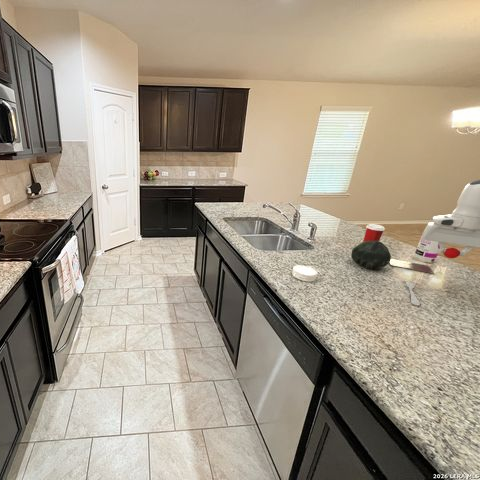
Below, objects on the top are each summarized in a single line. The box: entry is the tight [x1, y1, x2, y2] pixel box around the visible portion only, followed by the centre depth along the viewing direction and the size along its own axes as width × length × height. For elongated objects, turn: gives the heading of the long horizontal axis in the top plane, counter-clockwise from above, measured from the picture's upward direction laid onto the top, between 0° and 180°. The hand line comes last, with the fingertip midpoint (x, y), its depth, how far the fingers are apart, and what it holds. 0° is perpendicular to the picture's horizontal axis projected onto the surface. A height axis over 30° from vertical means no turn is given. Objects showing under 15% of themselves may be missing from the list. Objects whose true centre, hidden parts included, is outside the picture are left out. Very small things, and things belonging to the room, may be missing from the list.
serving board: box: [388, 258, 435, 275], centre depth 128 cm, size 16×10×1 cm, turn 57°
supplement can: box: [413, 236, 440, 264], centre depth 132 cm, size 8×8×15 cm
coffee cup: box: [362, 223, 386, 242], centre depth 144 cm, size 8×8×15 cm
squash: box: [350, 240, 392, 270], centre depth 126 cm, size 14×15×15 cm
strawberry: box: [442, 247, 460, 259], centre depth 103 cm, size 4×4×4 cm
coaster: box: [291, 264, 318, 283], centre depth 117 cm, size 10×10×4 cm
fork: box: [405, 281, 421, 307], centre depth 105 cm, size 3×21×3 cm, turn 145°
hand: (450, 253), depth 104 cm, fingers closed on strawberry, 4 cm apart
